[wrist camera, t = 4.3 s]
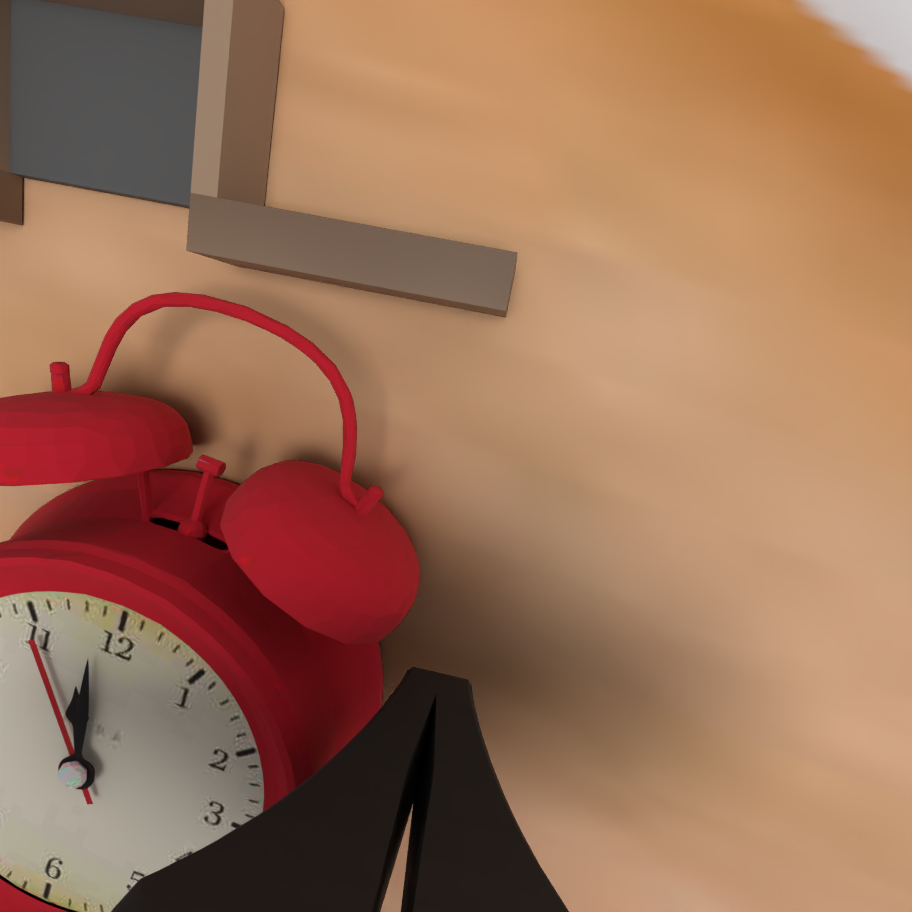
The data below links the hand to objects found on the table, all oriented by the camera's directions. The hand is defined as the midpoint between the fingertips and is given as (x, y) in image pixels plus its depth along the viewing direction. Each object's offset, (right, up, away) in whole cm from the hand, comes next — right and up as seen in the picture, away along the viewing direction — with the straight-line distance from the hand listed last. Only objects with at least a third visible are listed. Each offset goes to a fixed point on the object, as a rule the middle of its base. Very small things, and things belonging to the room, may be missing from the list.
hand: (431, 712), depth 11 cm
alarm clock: (-6, +2, +2) cm, 7 cm away
